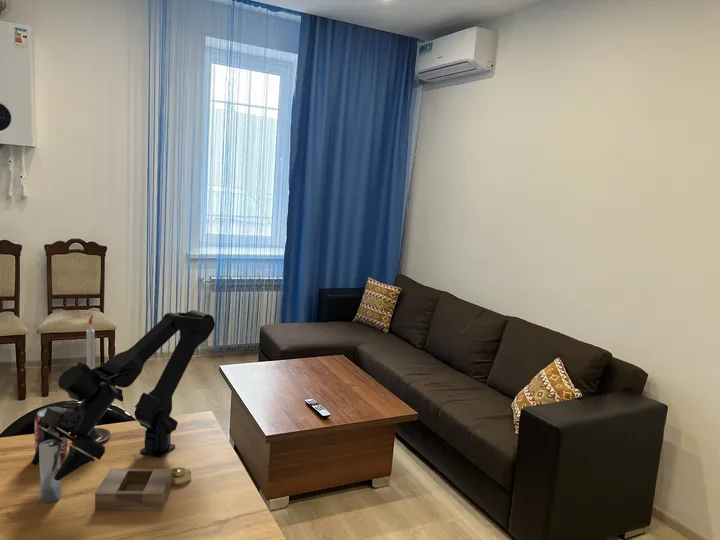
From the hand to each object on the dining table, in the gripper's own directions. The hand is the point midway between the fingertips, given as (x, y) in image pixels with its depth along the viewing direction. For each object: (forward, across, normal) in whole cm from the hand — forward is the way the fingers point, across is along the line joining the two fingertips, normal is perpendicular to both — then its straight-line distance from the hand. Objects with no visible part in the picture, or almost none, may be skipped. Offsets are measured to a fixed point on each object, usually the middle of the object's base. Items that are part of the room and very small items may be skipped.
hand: (44, 472), depth 120 cm
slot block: (-4, +14, +14) cm, 20 cm away
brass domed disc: (-12, +15, +22) cm, 29 cm away
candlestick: (-10, -18, +20) cm, 29 cm away
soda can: (-2, -17, +12) cm, 21 cm away
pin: (+4, 0, +6) cm, 7 cm away
